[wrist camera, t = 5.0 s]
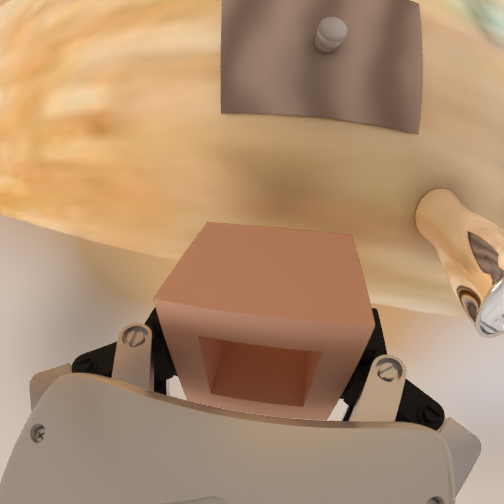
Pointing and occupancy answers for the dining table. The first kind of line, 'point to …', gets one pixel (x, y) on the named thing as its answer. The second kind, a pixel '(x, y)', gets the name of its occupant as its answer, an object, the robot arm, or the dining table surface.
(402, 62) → the brown peg stand
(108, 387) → the robot arm
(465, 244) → the beer glass
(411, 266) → the dining table surface
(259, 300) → the bead
